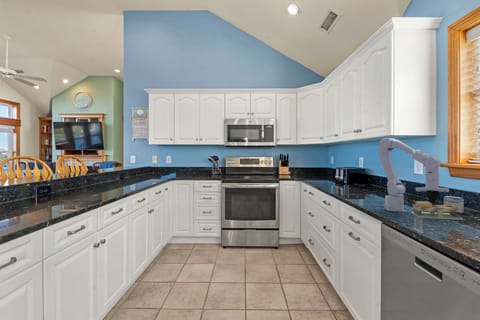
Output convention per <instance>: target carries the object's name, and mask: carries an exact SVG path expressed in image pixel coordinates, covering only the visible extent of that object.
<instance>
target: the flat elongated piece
mask: <svg viewBox="0 0 480 320" xmlns="http://www.w3.org/2000/svg"><path fill="white" fill-rule="evenodd" d="M412 209H413V210H414V209H415V210H417V211H421V212H429V211H434V213H437V210H443V213H450V212H461V208H459V207H456V206H454V205H444V204H434V205H432V207H418V206H416V204H412Z"/></svg>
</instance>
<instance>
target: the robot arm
mask: <svg viewBox="0 0 480 320" xmlns="http://www.w3.org/2000/svg"><path fill="white" fill-rule="evenodd" d="M378 146H379V147H378V156H379V157H378V158H379V160H380V163H381V166H382V167H383V170H384V174H385V175H386V178H387V182H386V186H387V189H386V190H387V193H388V195H387V194H386V195H385V197H384V209H385V210H387V212H400V213H401V212H405V213H406V212H407V210H406V209H404V205H405V203H404V201H405V199H404V198H405V197H404V194H405V192H406V190H407V189H406V186H405V185H404V184H403V183H402V181H401V180H400V179H399V178H398V175H397V173H396V170H395V166H394V164H393V162H392V160H391V159H392V158H391V157H390V154H391V153H392V151H393V150H394V149H399V150H401V151H403V152H405V153H407V154H409V155H410V157H411V158H412V159H413V160H414V161H416V162H419V163H420V164H421V165H423V166H424V168H425V186H423V187H419V186H418V187H415V191H416V192H424V193H425V195H426V196H427V198H428V202H430V203H432V205H436V204H435V203H436V200H437V198H438V197H439V195H440V193H442V192H443V193H449V192H450V188H449V187H439V186H440V182H439V181H440V173H439V172H440V171H439V169H440V165H441V161H440V159H438V157H435V156H433V155H432V154H428V153H426V152H424V151H425V150H424V149H416V150H415V149H414V148H412V147H411V146H409V145H408V144H406V143H404V142H402V141H401V140H399V139H397V138H393V137H391V138H390V137H389V138H388V137H384V138H382V139H381V140H380V141H379V143H378Z"/></svg>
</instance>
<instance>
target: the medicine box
mask: <svg viewBox="0 0 480 320" xmlns="http://www.w3.org/2000/svg"><path fill="white" fill-rule="evenodd" d="M464 198H465V197H459V196H452V195H451V196H450V195H446V196H443V205H454V206H456V207H459V208H461V212H455V213H456V214H463V213H464V212H465V208H464V205H465V204H464V203H465V199H464Z"/></svg>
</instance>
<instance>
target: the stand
mask: <svg viewBox="0 0 480 320" xmlns="http://www.w3.org/2000/svg"><path fill="white" fill-rule="evenodd" d="M410 214H412V215H413V216H415V217H417V218H418V219H432V220H433V219H434V220H438V219H439V220H451V221H453V220H457V221H464V218H463V217H461V216H460V214H459V213H454V212H443V210H437V212H435V211H417V210H415V209H414V208H413V211H411V212H410Z"/></svg>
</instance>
